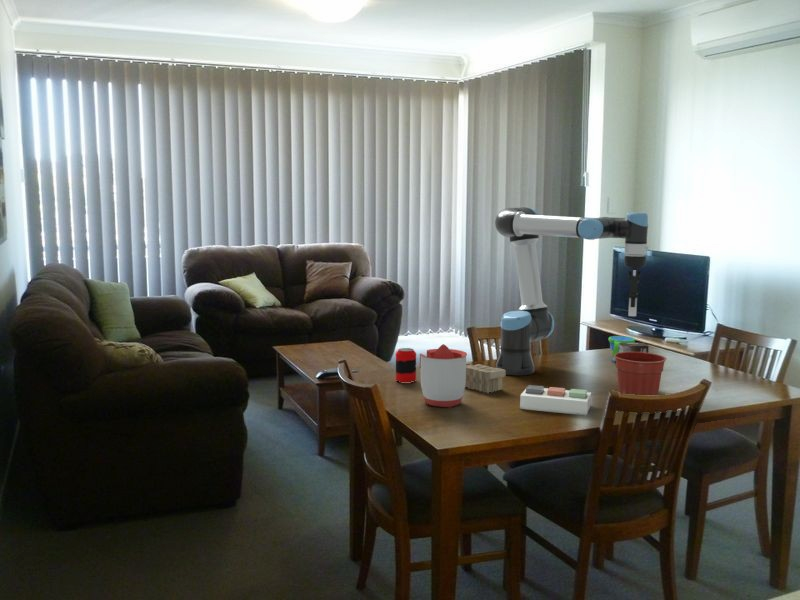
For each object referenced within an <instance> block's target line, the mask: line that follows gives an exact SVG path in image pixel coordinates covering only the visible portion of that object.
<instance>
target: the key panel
mask: <svg viewBox="0 0 800 600" xmlns="http://www.w3.org/2000/svg"><path fill="white" fill-rule="evenodd" d="M548 389H549V388H548V387H544V392H543V394H542V395H539V394H528V393H526V388H525V389H524V390H523V391H522V392H521V393H520V397H519V400H520V401H519V402H520V403H519V409H520V410H528V411H539V412H549V413H558V414H559V413H560V414H567V415H568V414H570V415H580V416H588V413H589V411H590V409H591V406H592V392H591V391H590V392H589V391H587V397H586V399H583V398H572V397H569V392H570V390H571V389H570V390H569V389H565V395H564V397H561V396H550V395H547V390H548Z"/></svg>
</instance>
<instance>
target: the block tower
mask: <svg viewBox="0 0 800 600" xmlns="http://www.w3.org/2000/svg"><path fill="white" fill-rule="evenodd" d="M505 377H506V374H505V370H504V369H501V368H496V367H492V366H488V365H485V364H480V363H479V364H478V363H477V364H473V362H470V361H466V384H465V388H466V387H469V388H468V389H470V388H473V389H477V390H480V391H479V392H481V391H484V392H483V393H485V392H487V393H486V394H490V393H489V392H491V393H494V391H495V392H498V391H501V390H503V378H505ZM473 389H472V390H473ZM477 390H476V391H477Z"/></svg>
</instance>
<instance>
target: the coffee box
mask: <svg viewBox="0 0 800 600" xmlns="http://www.w3.org/2000/svg"><path fill="white" fill-rule="evenodd" d="M649 347H650V346H649V345H648V344H646V343H645V342H635V343H619V353H620V352H646V353H649Z"/></svg>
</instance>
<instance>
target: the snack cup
mask: <svg viewBox="0 0 800 600" xmlns="http://www.w3.org/2000/svg"><path fill="white" fill-rule="evenodd" d="M608 342H609V348H610V351H609V352H610V358H611V362H613V363H615V364H616V358H615V357H614V354H616V353H619V343H636V338H634V337H632V336H627V335H626V336H624V335H612V336H609V337H608Z"/></svg>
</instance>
